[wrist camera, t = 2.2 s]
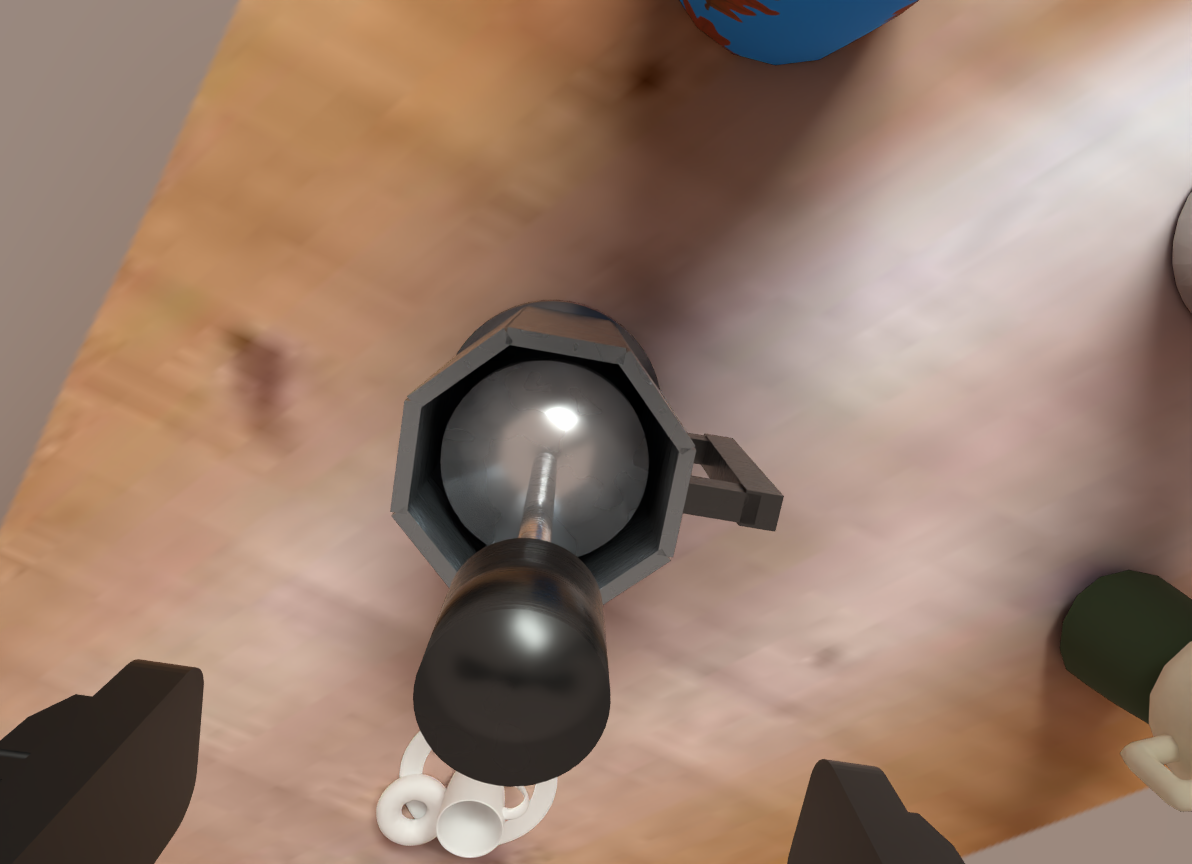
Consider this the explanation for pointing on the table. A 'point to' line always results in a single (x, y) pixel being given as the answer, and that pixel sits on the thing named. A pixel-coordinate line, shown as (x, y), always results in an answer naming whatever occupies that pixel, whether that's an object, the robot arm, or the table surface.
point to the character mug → (1140, 670)
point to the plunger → (529, 571)
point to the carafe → (670, 448)
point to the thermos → (790, 25)
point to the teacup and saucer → (455, 808)
